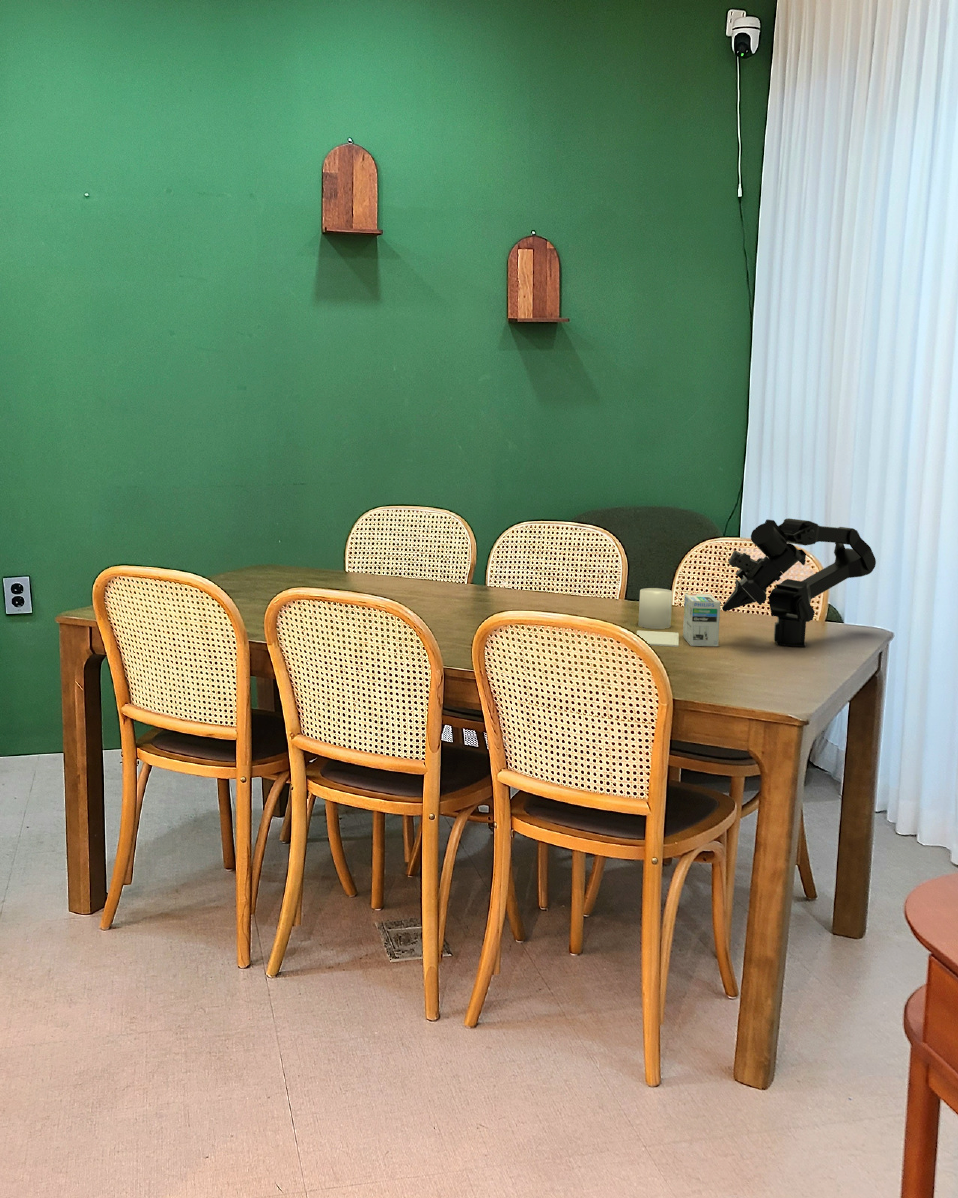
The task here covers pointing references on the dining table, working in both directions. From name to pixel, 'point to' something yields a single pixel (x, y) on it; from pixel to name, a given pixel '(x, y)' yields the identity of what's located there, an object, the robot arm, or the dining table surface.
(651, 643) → the mat
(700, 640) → the light bulb box
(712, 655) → the dining table surface
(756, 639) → the dining table surface
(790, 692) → the dining table surface
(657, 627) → the cream rounded cylinder
